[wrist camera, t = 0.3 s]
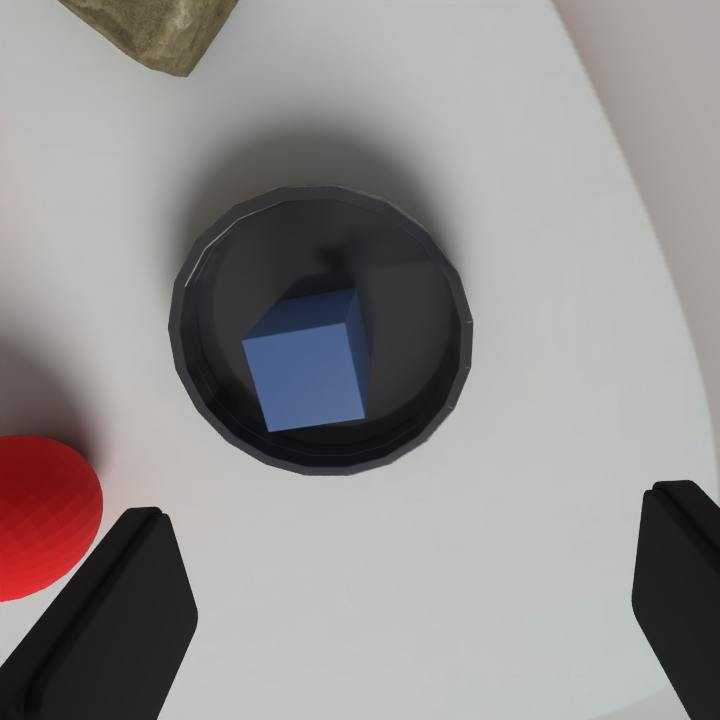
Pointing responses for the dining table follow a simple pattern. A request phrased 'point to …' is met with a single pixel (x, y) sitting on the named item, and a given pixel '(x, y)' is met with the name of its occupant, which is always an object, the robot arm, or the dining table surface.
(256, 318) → the charcoal bowl
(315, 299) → the blue block
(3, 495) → the ornament
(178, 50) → the stone block
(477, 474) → the dining table surface
